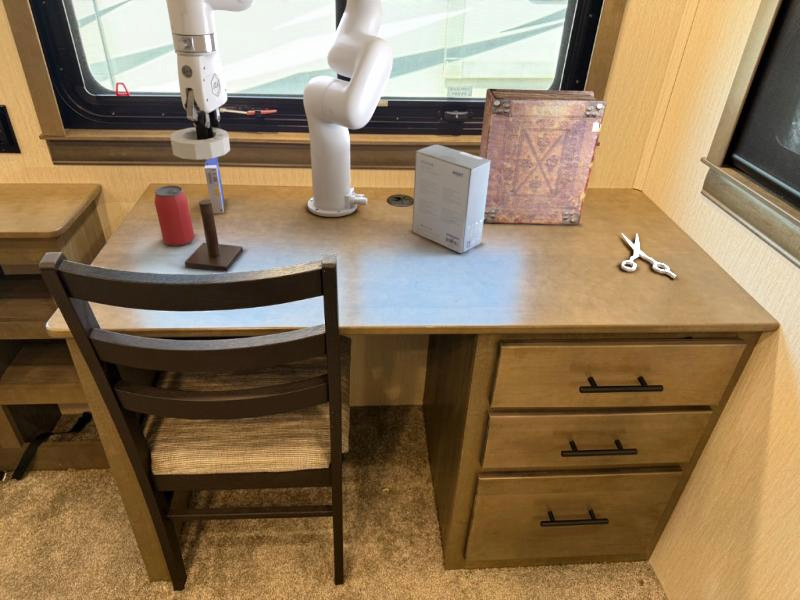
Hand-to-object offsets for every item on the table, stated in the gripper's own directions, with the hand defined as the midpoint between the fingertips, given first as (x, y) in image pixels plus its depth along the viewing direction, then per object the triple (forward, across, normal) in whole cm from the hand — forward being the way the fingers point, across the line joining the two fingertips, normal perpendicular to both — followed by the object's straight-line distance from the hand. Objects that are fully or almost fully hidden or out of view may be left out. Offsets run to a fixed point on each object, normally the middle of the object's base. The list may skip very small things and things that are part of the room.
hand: (210, 143), depth 110 cm
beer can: (+24, +1, +11) cm, 26 cm away
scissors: (+23, +16, -92) cm, 96 cm away
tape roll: (0, -4, 0) cm, 4 cm away
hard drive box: (+23, +15, -48) cm, 55 cm away
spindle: (+23, -5, 0) cm, 24 cm away
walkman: (+23, +20, +10) cm, 32 cm away
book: (+23, +31, -67) cm, 77 cm away
